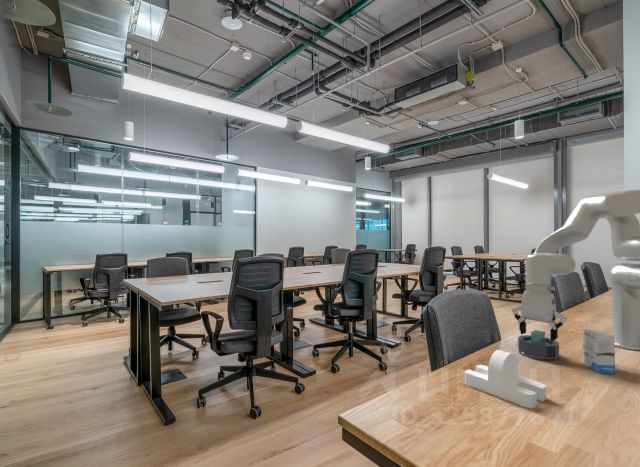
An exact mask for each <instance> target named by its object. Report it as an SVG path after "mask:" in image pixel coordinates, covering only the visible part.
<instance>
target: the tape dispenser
mask: <svg viewBox="0 0 640 467" xmlns="http://www.w3.org/2000/svg"><path fill="white" fill-rule="evenodd" d="M487 365H488V366H487ZM487 365H483V364H478V365H476V366H474V368H475V370H471V369H466V370H465V371H464V385H466V386H468V387H471V388H474V389H477V390H479V391H481V392H485V393H488V394H490V395H493V396H495V397H498V398H501V399H503V400H506V401H509V402H512V403H513V402H514V404H517V405H519V406H521V407H524V408H527V409H534V408H536V407H537V406H538V401H541V402H542V401H543V402H545V401H546V400H547V385H545V384H544V383H541V382H538V381H535V380H531V379H529V378H525V377H522V376H519V362H518V358H517V356H516V354H514V353H512V352H508V351H505V350H501V349H496V350H495V351H494V352H492V355H491V356H490V359H489V361H488V364H487Z"/></svg>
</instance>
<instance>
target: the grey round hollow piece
mask: <svg viewBox="0 0 640 467" xmlns="http://www.w3.org/2000/svg"><path fill="white" fill-rule="evenodd" d="M527 340H531V334H528V335H526V334H522V335H519V336H518V337H517V349H518V354H520V355H521V356H524V357H526V358H530V359H534V360H540V361H549V362H550V361H557V360H558V359H559V356H560V343H559V342H558V340H554V341H551V340H550V338H549V337H546V336H545V342H547V343H549V344H536V343H532V342H528V341H527Z"/></svg>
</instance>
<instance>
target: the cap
mask: <svg viewBox="0 0 640 467" xmlns="http://www.w3.org/2000/svg"><path fill="white" fill-rule="evenodd" d="M530 335H531V340H527V341H528V342H532V343H536V344H549V343H547V342H545V337H546V331H542V330H537V329H535V330H533V331H530Z"/></svg>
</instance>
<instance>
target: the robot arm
mask: <svg viewBox="0 0 640 467" xmlns="http://www.w3.org/2000/svg"><path fill="white" fill-rule="evenodd" d="M638 214H640V189H631V190H630V189H629V190H620V191H611V192H610V191H608V192H603V193H600V194H597V195H590V196H589V195H587V196H585V197H582V198H580V199H579V200H578V201H577V202H576V204H575V205H574V207H573V209H572V210H571V212H570V214H569V215H568V216H567V218H566V220H565V222H564V223H563V225H562V226H561V227H559V229H557V230H555V231H554V232H552V233H551V234H549V235H548V236H547V237H545V238H544V239H542V241H541V242H539V244H538V245H537V247H536V249H534V252H533V253H530V254H527V255H526V257H525V290H524V291H523V293H522V298H521V305H520V306H518V307H515V308H512V309H511V312H512V314H513V316H514V318H515V319H516V320H517V322H518V323H519V324H518V325H519V326H518V327H519V330H518V331H519V333H520V335H525V334H527V322H526V321H527V320H530V321H535V322H540V323H541V322H542V323H547V324H548V325H549V326H550V327H551V328H550V333H549V334H550V340H551V341H554V340H555V341H557V339H558V337H559V336H558V335H559V332H558V331H559V330H558V329H560V327H562V326H564V324H565V323H566V321H567V320H568V317H567V316H565V315H563V314H561V313H560V312H558V311H557V307H556V304H557V303H556V299H555V295H554V293H552V292H555V291H556V287H554V286H552V284H551V283H552V282H551V280H552V278H551V276H552V275H561V276H565V275H569V274H571V273H573V272H574V271H575V269H576V266H577V264H576V261H575V259H574V258H573V257H572V256H571V255H569V254H566V253H557V252H558V251H560V250H561V249H563V248H565V247H568V246H571V245H574V244H577V243H579V242H583V241H584V240H587V238H588V237H589V236H590V234H591V232H592V231H593V229H594V228H595V225H596V224H597V223H598V221H599V220H600V219H606V221H607V222H608V224H609V226H610V235H611V236H610V237H611V239H610V240H611V247H612V249H611V250H612V254H613V256H614V257H615V258H616V259H617V260H618V259H619V260H622V261H632V262H633V261H634V262H635V261H636V262H640V221H639V219H638V218H637V216H636V215H638ZM608 278H609V282H610V286H611V287H610V288H611V293H612V294H611V295H612V301H611V302H612V304H611V306H612V310H611V312H612V314H611V315H612V318H611V321H612V326H611V327H612V329H611V331H612V332H611V333H612V334H611V335H612V336H614V346H615V347H617V348H622V349H626V350H633V351H640V264H639V263H628V262H627V263H617V264H615V265H613V266H611V268H610V269H609V271H608ZM519 311H520V314H519ZM557 318H558V319H559V322H557V321H556V320H557Z"/></svg>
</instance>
